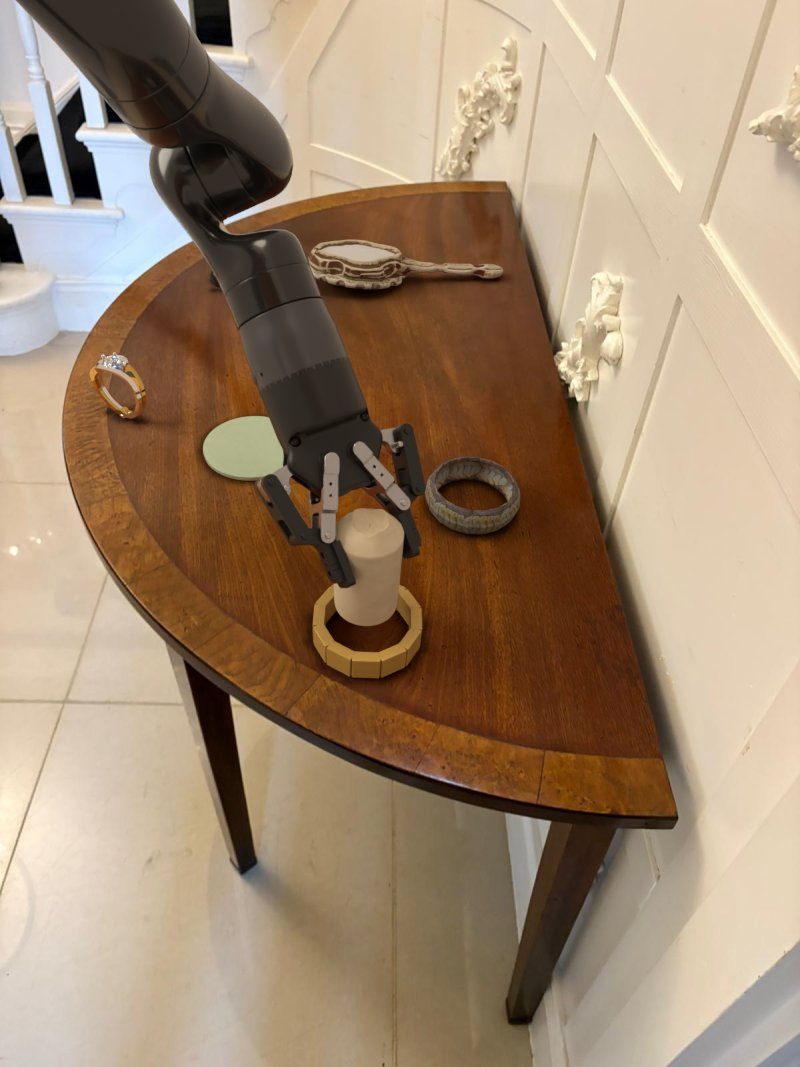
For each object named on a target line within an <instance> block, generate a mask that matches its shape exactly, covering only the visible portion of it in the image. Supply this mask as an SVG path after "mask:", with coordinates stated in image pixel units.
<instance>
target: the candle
mask: <svg viewBox="0 0 800 1067" xmlns="http://www.w3.org/2000/svg"><path fill="white" fill-rule="evenodd" d="M335 540H336V541H338V540H340V542H341V544H342V547H343V549H344V552H345V554H346V557H347V559H348V562H349V564H350V567H351V569H352V572H353V574H354V577H355V580H356V584H355V585H353V586H351V587H349V588H340V587H339V586H338V584H334V603H335V607H336V609H337V611H336V612H337V613H338V614H339V616H340V617H342V619H343V620H344V621H346V622H348V623H350V624H353V625H356V626H361V627H372V626H373V627H374V626H378V625H381V624H383V623H385V622H387V621H388V620H389V619H391V617H392V616H393V615H394V614H395V611H396V610H395V609H396V607H397V603H398V594H399V585H401V584H400V582H401V574H402V564H403V563H402V561H403V557H402V553H403V542H404V530H403V527H402V525H401V523H400V522H399V521H398V520H397V519H396V518H395V517H394V516H392V515H390V514H389V513H388V512H387V511H386V510H385V509H384V508H371V507H366V508H365V507H363V508H361V507H359V508H355V509H354V510H353V511H351V512H348V513H346V514H345V515H343V516H342V517H341V518H340V519H339V520H338V522H336V537H335Z"/></svg>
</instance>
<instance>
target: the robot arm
mask: <svg viewBox="0 0 800 1067" xmlns="http://www.w3.org/2000/svg"><path fill="white" fill-rule="evenodd" d="M14 1H15V2H16V3H17V4H18V5H19V6H20V7H21V8H22V9H23V10H24V11H25V12H26V13H27V14H28V15H29V17H31V18H32V20H33V21H35V23H36V24H37V25H38V26H39V27H40V28H41V29H42V30H43V31H44V32H45V33H46V34H47V35H48V37H49V38H50V39H51V40H52V41H53V42H54V43H55V44H56V45H57V46H58V48H59V49H60V50H61V51H62V52H63V53H64V54H65V56H66V57H67V58H68V59H69V60H70V61H71V62H72V64H74V66H75V67H76V68H77V69H78V71H79V72H80V73H81V74H82V76H84V77H85V79H86V80H87V81H88V82H89V83H90V85H91V86H92V87H93V88H94V89H95V90H96V92H97V93H98V94H99V95H100V96H101V97H102V99H103V100H104V101H105V102H106V104H108V106H109V107H110V108H111V109H112V111H113V112H115V113H116V115H117V116H118V117H119V119H121V120H122V122H123V123H124V124H125V126H127V128H128V129H129V130H130V131H131V132H132V133H133V134H134V135H135V136H136V137H137V138H139V139H140V140H141V141H142V142H144V143H145V144H147V145H150V146H151V149H150V152H149V158H148V160H149V161H148V169H149V176H150V180H151V183H152V186H153V187H154V190H155V191H156V193H157V195H158V196H159V198H160V199H161V201H162V203H163V204H164V205H165V207H166V208H167V209H168V210H169V212H170V213H171V215H172V216H173V217H174V219H176V221H177V222H178V223H179V225H180V226H181V228H183V230H184V231H185V233H186V234H187V235H188V236H189V238H190V239H191V241H192V242H193V243H194V245H195V246H196V248H197V250H198V251H199V252H200V254H201V256H202V257H203V259H204V260H205V262H206V264H207V265H208V267H209V268H210V271H211V270H212V272H213V273H214V275H215V277H216V279H217V281H218V283H219V285H220V288H219V289H220V290H221V293H222V295H223V297H224V299H225V303H226V304H227V307H228V310H229V313H230V315H231V317H232V320H233V323H234V325H235V327H236V330H237V331H238V335H239V338H240V341H241V345H242V350H243V354H244V357H245V361H246V364H247V366H248V368H249V371H250V378H251V380H252V382H253V385H254V386H255V387H256V388H257V391H258V394H259V396H260V399H261V401H262V404H263V406H264V409H265V412H266V413H267V414H266V415H267V417H269V419H270V421H271V424H272V426H273V429H274V431H275V434H276V436H277V439H278V441H279V443H280V445H281V447H282V449H283V456H284V457H283V467H281V468H280V469H278V470H277V471H275V472H273V473H272V474H268V475H266V476H264V477H262V478H259V479H257V480H255V481H254V485H253V487H254V491H255V492H256V493H257V495H258V497H259V498H260V500H261V501H262V503H263V505H264V506H265V508H266V510H267V511H268V513H269V515H270V516H271V518H272V519H273V521H274V523H275V524H276V525H277V527H278V528H279V530H280V532H281V533H282V535H283V537H284V538H285V540H286V541H287V543H288V544H289V545H290V546H292V547H297V546H298V547H299V546H310V547H313V548H314V549H315V550H316V552H317V554H318V557H319V559H320V561H321V564H322V566H323V570H324V572H325V574H326V577H327V580H329V581H330V582H331V584H332V585H333V584H338V586H339V587H340V588H349V587H351V586H353V585H355V584H356V580H355V577H354V574H353V572H352V569H351V567H350V564H349V562H348V559H347V557H346V554H345V552H344V549H343V547H342V544H341V542H340V540H338V541H336V540H335V537H336V525H337V517H336V516H337V513H338V511H339V498H341V497H343V496H345V495H346V496H347V495H348V494H349V493H350V492H351V491H356V490H359V489H362V490H363V491H364V492H365V493H366V494H367V495H368V496H370V497H372V498H374V499H375V501H376V502H377V503H378V504H379V505H380V506H381V507H382V509H383V510H385V511H386V512H387V513H389V514H390V515H392V516H394V517H395V518H396V519H397V520H398V521H399V522H400V523H401V525H402V527H403V530H404V542H403V553H402V559H405V560H406V559H407V560H408V559H413V558H415V557H418V556H420V554H421V550H420V547H422V537H421V535H420V533H419V529H418V528H417V524H416V522H415V520H414V517H413V514H412V511H411V507H412V504H413V502H415V501H416V500H417V499H418V498H419V497H420V496H423V495H425V490H426V484H425V478H424V474H423V469H422V464H421V459H420V454H419V450H418V444H417V440H416V435H415V431H414V427H413V426H412V425H411V424H410V423H408V422H407V423H402V424H399V425H397V426H395V427H390V428H384V429H380V427H378V425H376V424H375V422H374V421H373V420H372V419H371V417H370V414H369V408H368V404H367V401H366V399H365V396H364V393H363V391H362V389H361V385H360V383H359V380H358V378H357V375H356V372H355V370H354V368H353V364H352V362H351V360H350V359H351V358H350V357H349V355H348V352H347V350H346V347H345V344H344V341H343V339H342V337H341V334H340V330H339V329H338V327H337V324H336V322H335V320H334V319H333V317H332V315H331V313H330V311H329V309H328V308H327V306H326V304H325V301H324V300H323V296H322V294H321V291H320V289H319V286H318V284H317V279H316V278H315V277H314V275H313V273H312V270H311V268H310V264H309V259H308V256H307V254H306V252H305V249H304V247H303V245H302V243H301V241H300V240H299V238H298V236H296V235H295V234H294V233H293V232H291V231H289V230H287V229H278V228H273V229H266V230H259V231H254V232H253V231H252V232H248V233H241V234H240V233H238V234H237V233H236V234H235V233H231V232H229V230H228V229H227V227H226V225H225V222H224V221H226V220H227V219H229V218H232V217H234V216H236V215H238V214H241V213H243V212H245V211H248V210H249V209H252V208H254V207H256V206H258V205H260V204H264V203H265V202H267V201H269V200H272V199H273V198H275V197H277V196H278V195H280V194H281V193H283V191H284V190H285V189H286V188H287V187H288V186H289V184H290V181H291V179H292V176H293V170H294V155H293V150H292V146H291V144H290V140H289V138H288V136H287V134H286V132H285V130H284V128H283V126H282V125H281V123H280V122H279V121H278V119H277V118H276V116H275V115H274V114H273V113H272V112H271V110H270V109H268V107H267V106H266V105H265V104H264V103H263V102H262V101H261V100H260V99H259V98H258V97H257V96H255V95H254V94H252V92H250V91H249V90H248V89H246V88H245V87H244V86H243V85H241V84H240V83H239V82H238V81H237V80H235V79H234V78H232V77H231V76H230V75H229V74H228V73H227V72H225V70H223V69H222V68H221V67H220V66H219V65H218V64H217V63H216V62H215V61H214V60H213V59H212V58H211V56H210V55H209V53H208V52H207V50H206V49H205V47H204V46H203V44H202V43H201V41H200V40H199V38H198V36H197V35H196V33H195V32H194V30H193V28H192V26H191V25H190V23H189V22H188V20H187V18H186V17H185V16H184V14H183V12H182V10H181V9H180V7H179V6H178V3H177V2H176V1H175V0H14ZM382 446H383V447H384V448H385V451H386V453H388V455H390V456H391V459H392V465H393V470H394V474H395V477H394V476H393V475H392V474H391V473H390V472H389V470H387V468H386V467H385V466H384V465H383V464H382V463H381V461H379V460H380V455H381V451H382ZM291 479H292V480H293V481H295V482H296V483H298V484H299V485H300V486H302V487H303V488H305V489H306V490H307V513H308V516H309V526H308V525H307V523H306V521H305V519H304V518H303V516H302V515H301V513H300V512H299V510H298V508H297V506H296V505H295V503H294V502H293V500H292V498H291V496H290V495H291V493H292V486H291V483H290V480H291Z"/></svg>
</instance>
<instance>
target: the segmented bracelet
mask: <svg viewBox="0 0 800 1067" xmlns="http://www.w3.org/2000/svg"><path fill="white" fill-rule="evenodd" d="M395 611H397V612H398V613H399V614H400V616H401V617H402V619H403V620H404V622H405V623H406V624H407V626H408V631H407V632H406V634H405V635H404V636H403V638H402V639H401V640H400V641H399V643H397V644H395V645H392V646H390V647H388V648H385V649H383V650H381V651H379V652H377V651H376V652H375V651H355V650H352V649H350V648H348V647H347V646H345V645H342V644H341V643H339V642H337V641H335V639H334V638H333V636H332V635H331V634H330V632H329V629H327V626H326V625H327V622H329V620H330V619H331V618H332V617H333V616H334V614H335V613H336V612H338V611H337V609H336V607H335V603H334V584H333V583H332V585H331V586H329V587H328V588H326V590H325V591H324V592H323V594H322V595H321V596H320V597H319V598H318V599H317V600H316V602H315V603H314V605H313V616H312V643H313V646H314V647H315V649H316V651H317V652H318V654H319V655H320V657H321V659H322V660H323V662H324V664H326V666H328V667H330V668H332V669H333V670H336V671H337V672H340V673H341V674H343V675H345V676H347V677H349V678H350V677H351V678H355V679H356V678H357V679H358V678H359V679H379V678H384V677H386V676H389V675H391V674H393V673H395V672H398V671H401V670H403V669H405V668H406V667H407V666H408V665H409V664H410V662H411V661H412V659H413V658H414V657H415V655H416V654H417V652H418V651H419V649H420V647H421V644H422V634H423V609H422V606H421V605H420V604H419V602H418V601H417V599H416V598H415V597H414V595H413V594H412V592H410V590H409V589H408V588H407V587H406V586H403V585H401V584H399V594H398V603H397V607H396V609H395Z"/></svg>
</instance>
